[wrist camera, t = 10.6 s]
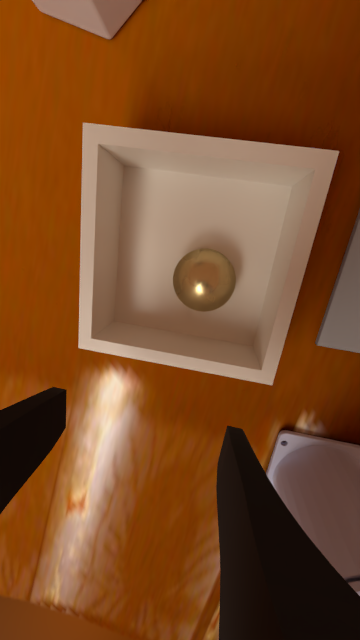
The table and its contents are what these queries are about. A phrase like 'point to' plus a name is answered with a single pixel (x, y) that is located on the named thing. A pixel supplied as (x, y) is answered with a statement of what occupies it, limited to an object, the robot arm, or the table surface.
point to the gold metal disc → (204, 280)
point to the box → (194, 244)
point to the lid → (344, 302)
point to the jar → (91, 13)
